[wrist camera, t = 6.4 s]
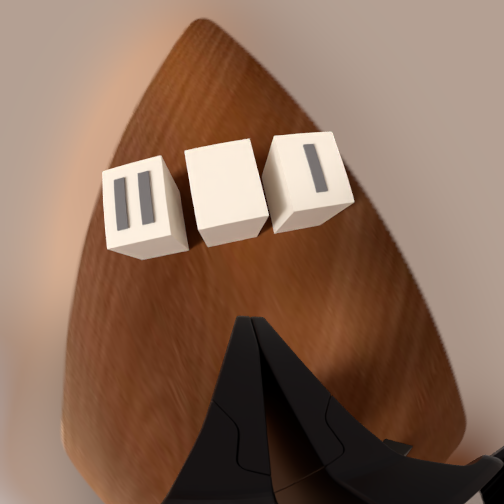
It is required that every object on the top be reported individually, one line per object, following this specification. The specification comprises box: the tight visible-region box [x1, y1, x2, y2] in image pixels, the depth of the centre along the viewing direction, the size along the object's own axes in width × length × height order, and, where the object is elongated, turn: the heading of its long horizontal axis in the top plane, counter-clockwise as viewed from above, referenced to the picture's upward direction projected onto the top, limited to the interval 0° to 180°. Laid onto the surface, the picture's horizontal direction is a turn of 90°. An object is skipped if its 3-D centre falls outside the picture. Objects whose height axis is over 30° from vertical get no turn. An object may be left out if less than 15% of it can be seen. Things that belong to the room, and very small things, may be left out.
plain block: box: [185, 139, 269, 247], centre depth 19 cm, size 5×4×7 cm
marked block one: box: [262, 132, 354, 234], centre depth 19 cm, size 5×4×7 cm
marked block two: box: [102, 156, 189, 260], centre depth 18 cm, size 5×4×7 cm
